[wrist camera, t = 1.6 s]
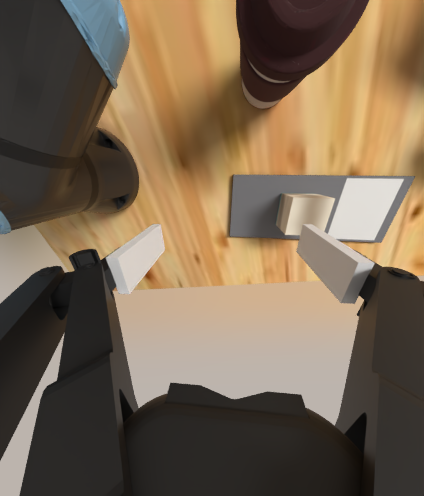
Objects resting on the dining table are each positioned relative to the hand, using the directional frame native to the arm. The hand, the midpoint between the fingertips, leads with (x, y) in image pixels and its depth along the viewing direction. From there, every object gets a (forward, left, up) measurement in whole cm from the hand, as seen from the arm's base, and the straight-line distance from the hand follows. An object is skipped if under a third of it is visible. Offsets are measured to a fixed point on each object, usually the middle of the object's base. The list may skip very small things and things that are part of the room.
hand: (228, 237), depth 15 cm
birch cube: (+13, -1, -18) cm, 22 cm away
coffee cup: (+5, +18, -19) cm, 27 cm away
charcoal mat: (+16, -1, -19) cm, 24 cm away
